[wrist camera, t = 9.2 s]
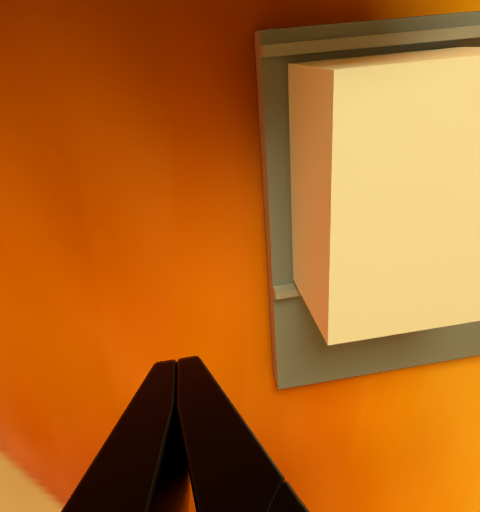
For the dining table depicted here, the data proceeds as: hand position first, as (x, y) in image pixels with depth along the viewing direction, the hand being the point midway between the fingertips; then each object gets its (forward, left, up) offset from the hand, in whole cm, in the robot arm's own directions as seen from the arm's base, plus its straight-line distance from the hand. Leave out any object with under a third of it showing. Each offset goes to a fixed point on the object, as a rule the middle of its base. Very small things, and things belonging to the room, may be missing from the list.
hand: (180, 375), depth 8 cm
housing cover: (-9, 0, -11) cm, 14 cm away
